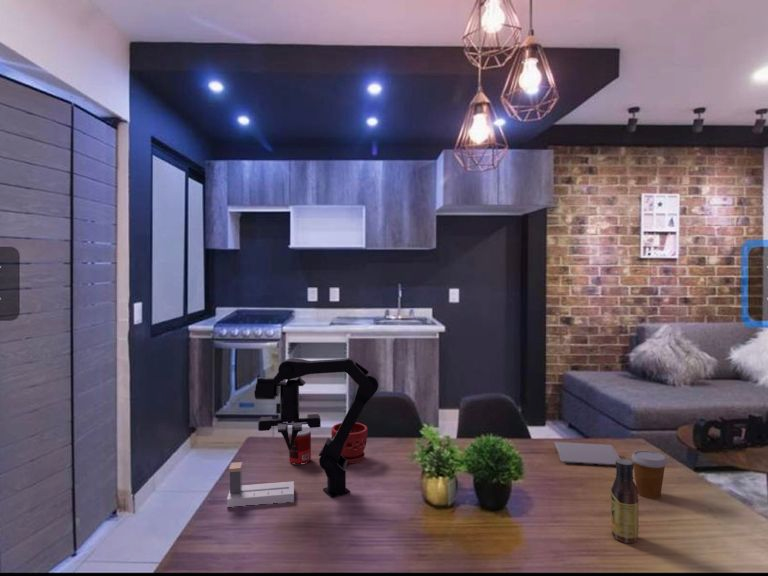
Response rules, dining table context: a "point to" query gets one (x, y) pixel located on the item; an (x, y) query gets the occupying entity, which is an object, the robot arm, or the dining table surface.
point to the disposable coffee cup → (649, 472)
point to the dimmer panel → (262, 494)
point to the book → (587, 453)
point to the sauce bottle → (624, 503)
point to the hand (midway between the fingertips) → (290, 449)
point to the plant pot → (353, 442)
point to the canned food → (301, 447)
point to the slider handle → (235, 477)
